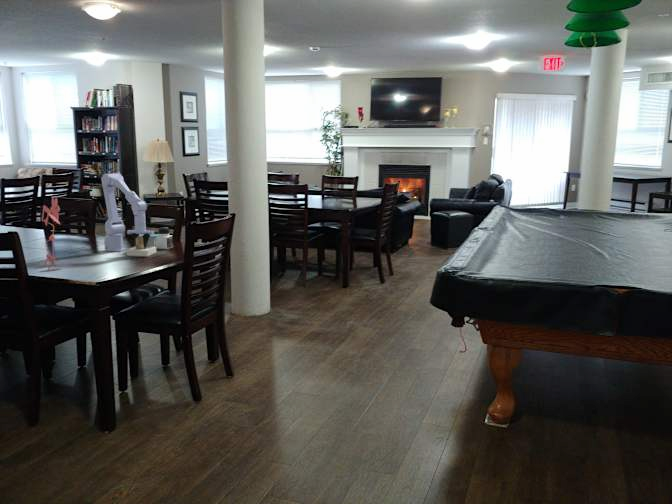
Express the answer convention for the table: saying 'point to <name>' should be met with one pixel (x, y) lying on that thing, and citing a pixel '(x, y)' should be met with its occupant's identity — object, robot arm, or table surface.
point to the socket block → (141, 252)
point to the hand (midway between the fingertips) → (141, 247)
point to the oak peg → (140, 243)
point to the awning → (151, 239)
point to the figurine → (55, 217)
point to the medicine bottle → (164, 239)
